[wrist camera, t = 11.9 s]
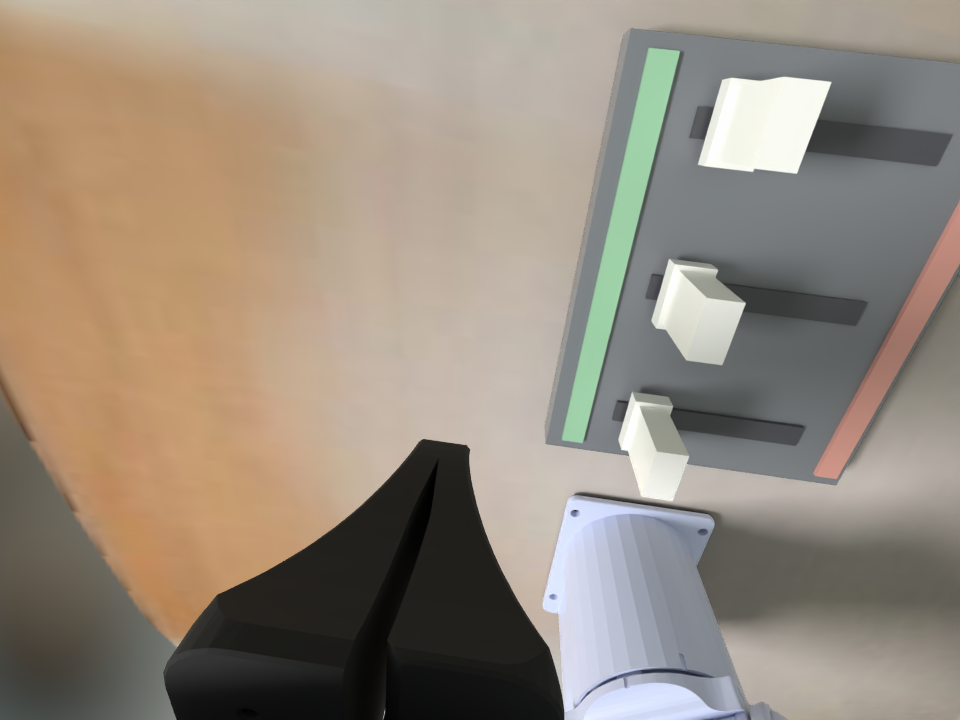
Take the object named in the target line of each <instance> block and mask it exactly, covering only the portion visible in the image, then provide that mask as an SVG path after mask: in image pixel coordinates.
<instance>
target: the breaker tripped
mask: <svg viewBox="0 0 960 720" xmlns="http://www.w3.org/2000/svg"><path fill="white" fill-rule="evenodd" d="M717 272H718V269H717V268H716V267H714V266H713V265H712V264H707V263H699V262H691V261H683V260H675V259H669V261H668V265H667V268H666V272H665V275H664V279H663V282H662V286H661V289H660V292H659V296H658V299H657V303H656V306H655V310H654V313H653V317H652V320H651V321H652V323H653V324H654V326H655V328H657V329H664V330H666V331H667V332H668V334H669V335H670V337H671V338H672V340H673V341H674V343H675V344H676V346H677V347H678V349H679V350H680V352H681V353H682V355H683V357H684V358H685V360H687V361H694V362H702V363H709V364H717V365H723V362H724V360H725V357H726V354H727V352H728V349H729V346H730V344H731V341H732V339H733V336H734V333H735V331H736V328H737V325H738V323H739V320H740V317H741V315H742V312H743V309H744V307H745V304H746V303H745V302H744V301H743V300H742V299H740V298H739V297H738V296H737V295H736V294H734V293H733V292H732V291H731V290H730V289H728V288H727V287H726V286H725V285H723V284H722V283H721V282H720V281H719V280H717V279H716V275H717Z"/></svg>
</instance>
